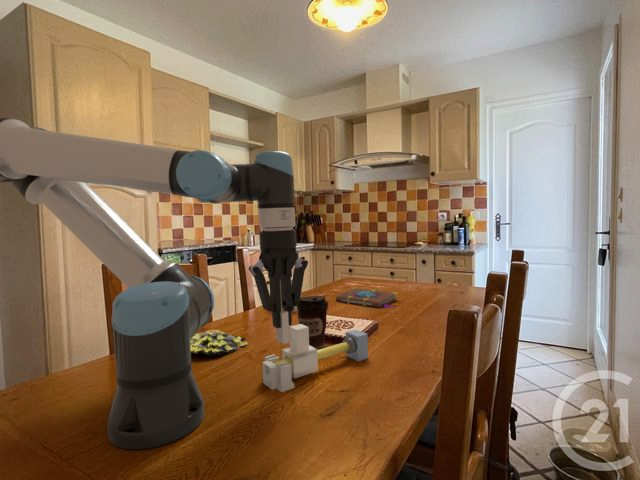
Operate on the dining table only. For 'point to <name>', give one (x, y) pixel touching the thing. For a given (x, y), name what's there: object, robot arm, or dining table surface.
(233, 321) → the dining table surface
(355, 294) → the book
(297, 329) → the sliding rod carriage
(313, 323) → the coffee cup
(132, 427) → the robot arm
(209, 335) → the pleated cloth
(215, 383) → the dining table surface
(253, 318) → the dining table surface
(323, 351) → the slide rail
